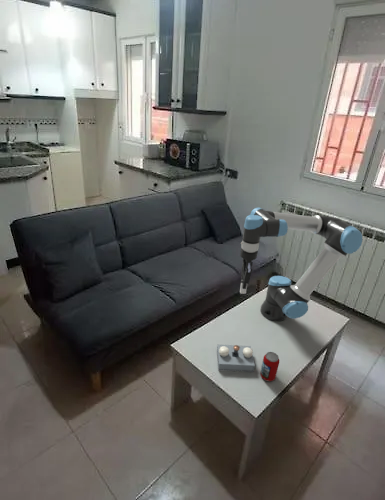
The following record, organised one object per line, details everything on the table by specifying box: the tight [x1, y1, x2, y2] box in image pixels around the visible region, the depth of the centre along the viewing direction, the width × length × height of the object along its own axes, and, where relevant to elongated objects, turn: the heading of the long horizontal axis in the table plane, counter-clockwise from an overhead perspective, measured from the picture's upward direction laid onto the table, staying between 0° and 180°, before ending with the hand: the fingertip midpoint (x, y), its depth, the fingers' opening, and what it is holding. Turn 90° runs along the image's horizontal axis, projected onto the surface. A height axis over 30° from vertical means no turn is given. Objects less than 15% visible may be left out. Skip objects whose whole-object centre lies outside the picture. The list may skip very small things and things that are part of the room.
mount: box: [216, 344, 256, 373], centre depth 144 cm, size 16×12×4 cm
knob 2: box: [243, 347, 254, 358], centre depth 143 cm, size 4×4×5 cm
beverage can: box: [260, 351, 280, 382], centre depth 135 cm, size 7×7×12 cm
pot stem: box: [233, 344, 240, 355], centre depth 142 cm, size 3×3×4 cm
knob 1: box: [219, 346, 229, 357], centre depth 143 cm, size 4×4×5 cm
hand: (242, 292), depth 149 cm, fingers closed
